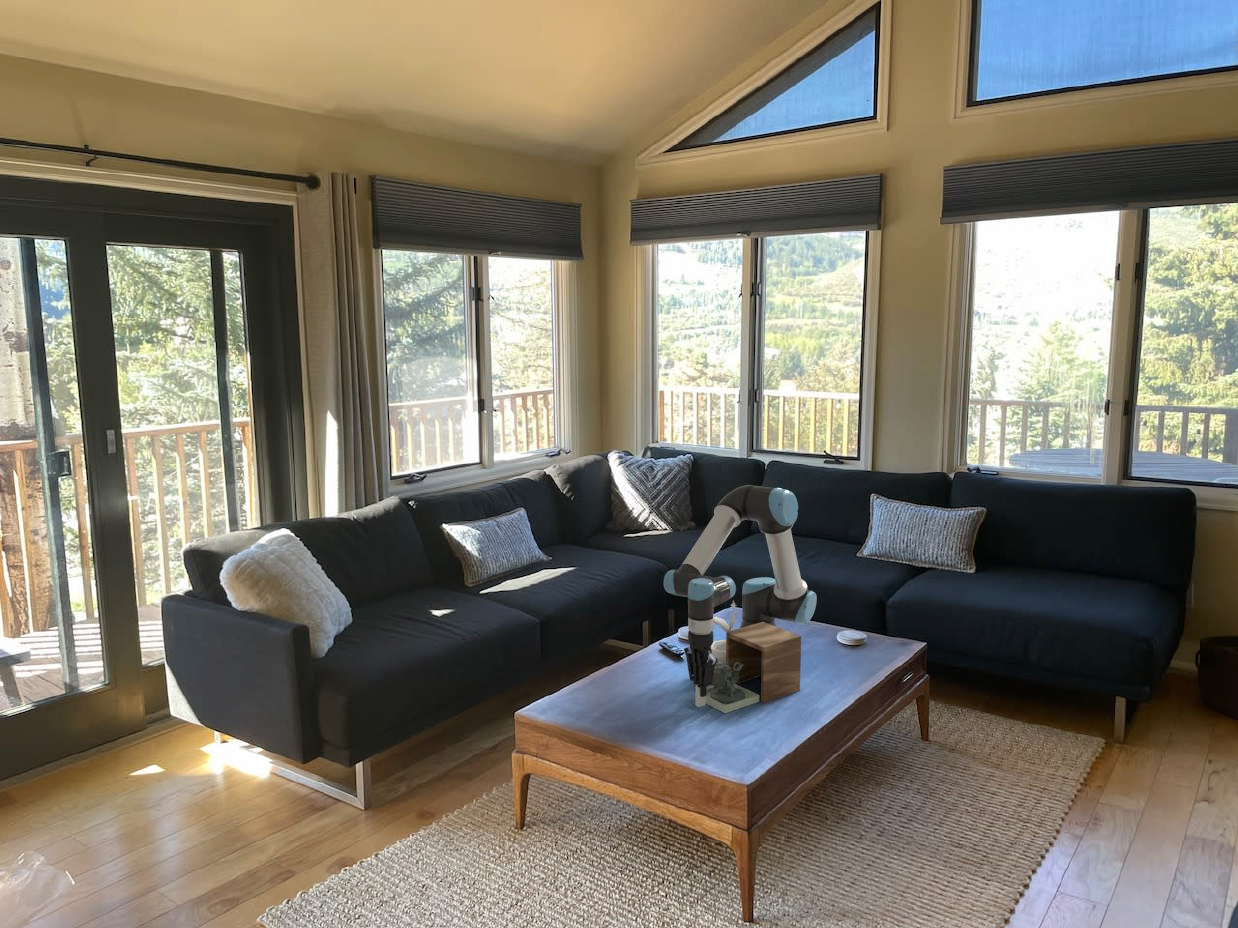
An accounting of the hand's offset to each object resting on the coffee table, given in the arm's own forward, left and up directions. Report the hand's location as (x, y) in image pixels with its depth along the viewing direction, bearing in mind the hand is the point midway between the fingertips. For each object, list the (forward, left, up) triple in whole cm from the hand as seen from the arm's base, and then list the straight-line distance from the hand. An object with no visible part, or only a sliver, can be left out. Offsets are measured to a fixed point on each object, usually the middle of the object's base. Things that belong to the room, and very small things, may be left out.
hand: (700, 705), depth 290 cm
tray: (0, +11, -1) cm, 11 cm away
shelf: (0, +26, -1) cm, 26 cm away
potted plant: (-16, +24, -1) cm, 29 cm away
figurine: (0, +11, 0) cm, 11 cm away
